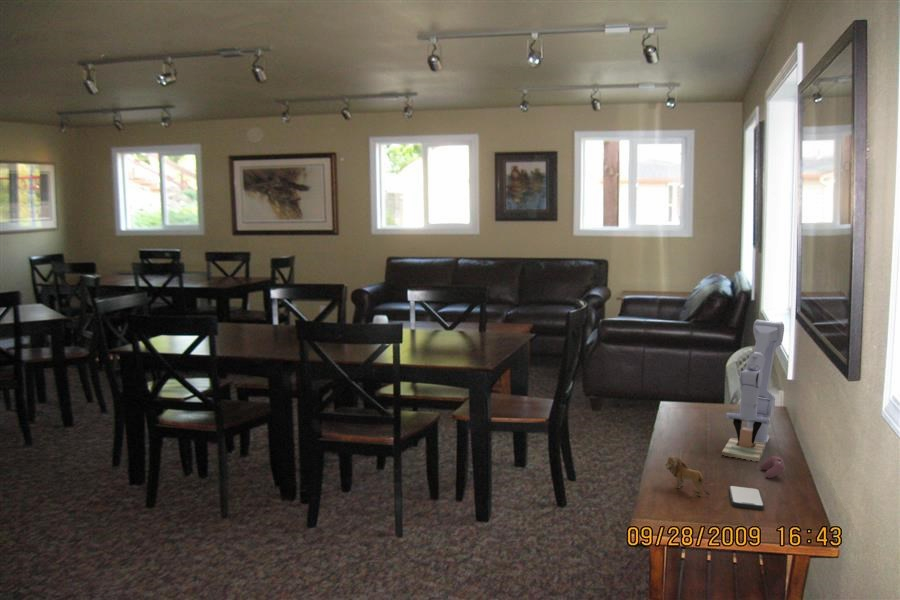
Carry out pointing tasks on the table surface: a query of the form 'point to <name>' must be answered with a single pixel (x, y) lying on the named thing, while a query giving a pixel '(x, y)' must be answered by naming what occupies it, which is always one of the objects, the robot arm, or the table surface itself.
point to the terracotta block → (746, 437)
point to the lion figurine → (685, 474)
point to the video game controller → (773, 466)
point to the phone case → (746, 498)
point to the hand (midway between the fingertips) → (746, 441)
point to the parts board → (744, 450)
